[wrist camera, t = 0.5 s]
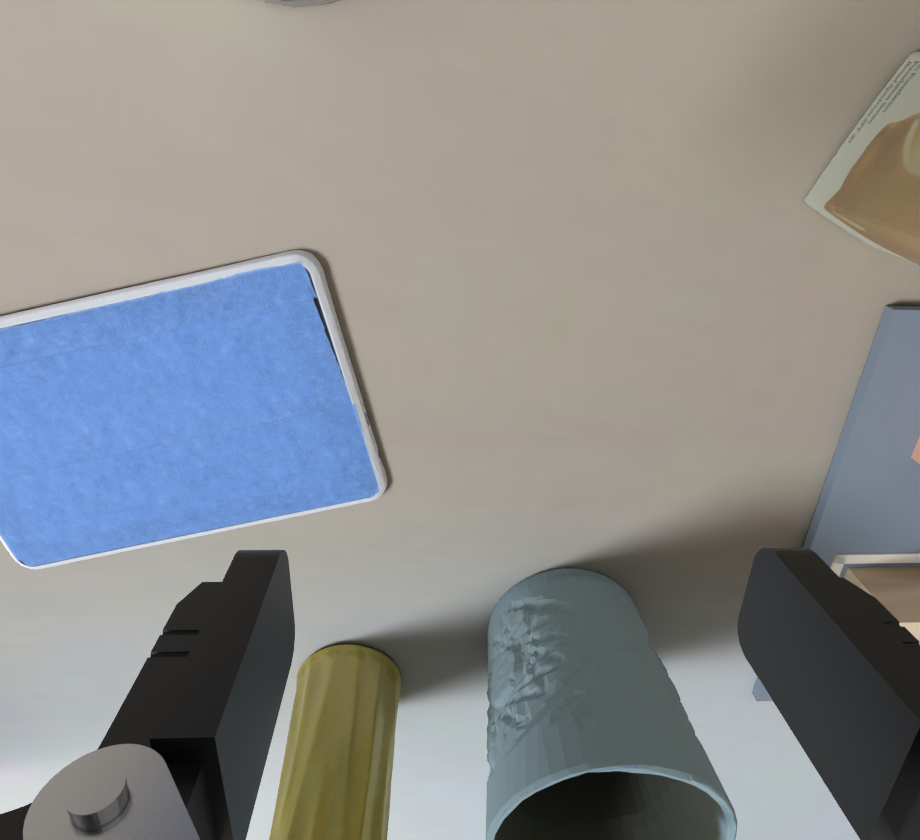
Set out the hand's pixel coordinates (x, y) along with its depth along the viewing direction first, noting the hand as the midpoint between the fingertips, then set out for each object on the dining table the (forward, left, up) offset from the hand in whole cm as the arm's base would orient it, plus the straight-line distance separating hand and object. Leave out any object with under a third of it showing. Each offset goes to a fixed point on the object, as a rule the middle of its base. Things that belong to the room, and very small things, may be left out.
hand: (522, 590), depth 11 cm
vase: (+23, -6, -18) cm, 30 cm away
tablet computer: (+6, -14, -19) cm, 24 cm away
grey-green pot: (+19, +6, -18) cm, 27 cm away
